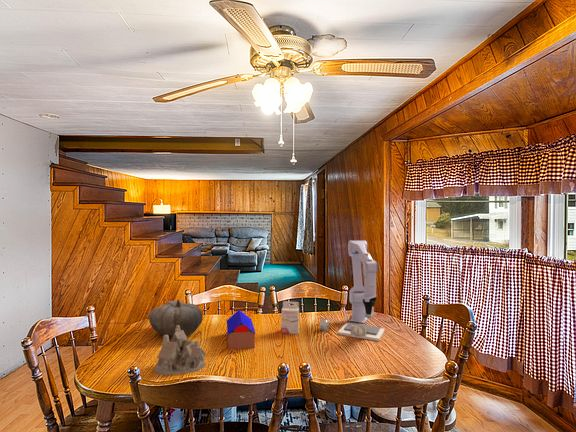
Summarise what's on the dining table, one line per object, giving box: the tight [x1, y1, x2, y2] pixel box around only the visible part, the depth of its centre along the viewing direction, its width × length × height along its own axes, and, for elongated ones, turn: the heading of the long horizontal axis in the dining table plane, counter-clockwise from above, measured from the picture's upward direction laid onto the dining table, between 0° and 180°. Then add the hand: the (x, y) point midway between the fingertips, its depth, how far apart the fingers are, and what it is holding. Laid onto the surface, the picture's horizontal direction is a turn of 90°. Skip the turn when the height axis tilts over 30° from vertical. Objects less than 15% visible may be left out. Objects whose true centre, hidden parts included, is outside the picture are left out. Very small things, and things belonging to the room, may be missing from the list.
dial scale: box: [337, 322, 386, 342], centre depth 173 cm, size 15×20×5 cm
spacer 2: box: [365, 305, 375, 319], centre depth 173 cm, size 4×4×5 cm
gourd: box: [148, 298, 203, 338], centre depth 170 cm, size 25×25×17 cm
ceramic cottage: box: [154, 325, 207, 376], centre depth 133 cm, size 16×16×15 cm
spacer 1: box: [319, 318, 330, 332], centre depth 177 cm, size 4×4×5 cm
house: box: [226, 309, 256, 350], centre depth 161 cm, size 12×20×12 cm, turn 11°
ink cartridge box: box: [280, 300, 300, 335], centre depth 173 cm, size 9×5×15 cm, turn 84°
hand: (369, 312), depth 173 cm, fingers closed on spacer 2, 4 cm apart
